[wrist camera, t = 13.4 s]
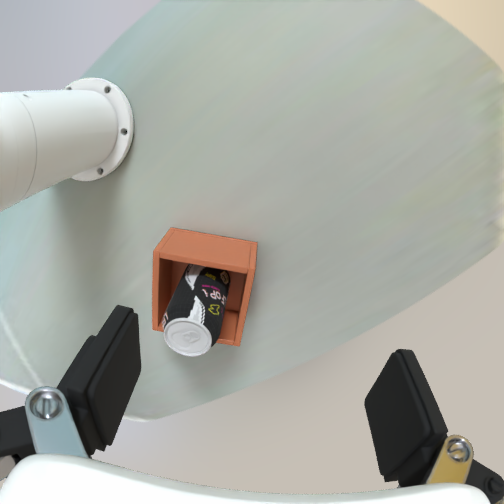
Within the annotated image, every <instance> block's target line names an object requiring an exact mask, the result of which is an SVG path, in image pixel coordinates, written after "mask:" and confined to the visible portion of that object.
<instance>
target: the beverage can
mask: <svg viewBox="0 0 504 504" xmlns="http://www.w3.org/2000/svg"><path fill="white" fill-rule="evenodd" d="M230 281H231V279H230V274H229V272H228V270H223V269H217V268H212V267H206V266H201V265H195V264H190V263H189V264H188V266H187V267H186V269H185V271H184V273H183V275H182V277H181V279H180V281H179V283H178V286H177V288H176V290H175V292H174V294H173V296H172V298H171V301H170V303H169V305H168V307H167V309H166V311H165V314H164V316H163V320H162V327H163V331H164V339H165V341H166V343H167V345H168V346H169V347H170V348H171V349H172V350H173V351H175V352H177V353H179V354H181V355H184V356H189V357H195V356H200V355H203V354H205V353H206V352H207V351H208V350H209V349H210V347H212V346H213V345H214V344H215V343H216V342H217V340H218V339H219V336H220V332H221V327H222V322H223V317H224V312H225V307H226V303H227V298H228V293H229V288H230Z"/></svg>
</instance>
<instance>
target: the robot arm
mask: <svg viewBox="0 0 504 504" xmlns="http://www.w3.org/2000/svg"><path fill="white" fill-rule="evenodd" d="M110 88H111V91H109V90H110ZM126 129H127V132H128V133H126ZM133 131H134V119H133V114H132V109H131V106H130V104H129V101H128V99H127V98H126V96H125V94H124V93H123V92H122V91H121V90H120V89H119V88H118V87H117V86H116V85H115V84H113V83H111V82H110V81H107V80H104V79H101V78H83V79H79V80H76V81H74V82H72V83H71V84H69V85H68V86H66V87H65V88H64V89H62V90H39V91H19V92H5V93H0V212H2V211H3V210H5V209H7V208H9V207H11V206H13V205H15V204H17V203H19V202H21V201H22V200H24V199H26V198H28V197H30V196H32V195H34V194H36V193H38V192H40V191H42V190H44V189H46V188H49V187H51V186H53V185H55V184H57V183H59V182H61V181H64V180H66V179H68V178H72V179H74V180H78V181H93V180H97V179H100V178H102V177H104V176H106V175H108V174H109V173H111V172H112V171H114V170H115V169H116V168H117V167H118V166H119V165H120V164H121V162H122V161H123V160H124V158H125V156H126V154H127V153H128V151H129V148H130V145H131V142H132V138H133ZM102 168H103V170H102ZM140 372H141V357H140V343H139V324H138V314H136V313H134V310H133V309H132V308H129V307H124V306H120V305H117V306H116V307H115V309H114V310H113V312H112V313H111V315H110V316H109V318H108V319H107V321H106V322H105V324H104V325H103V327H102V328H101V330H100V331H99V333H98V335H97V336H93V335H91V336H89V338H88V339H87V340H86V342H85V343H84V345H83V346H82V348H81V349H80V351H79V353H78V354H77V356H76V357H75V359H74V360H73V362H72V364H71V365H70V367H69V368H68V370H67V372H66V373H65V375H64V377H63V378H62V380H61V381H60V383H59V385H58V386H57V388H54V387H49V386H45V387H39V388H36V389H34V390H33V391H32V392H30V394H29V395H28V396H27V398H26V401H25V406H22V407H18V408H15V409H11V410H7V411H3V412H0V481H1V480H3V479H4V478H6V480H5V482H4V484H3V486H2V487H1V489H0V504H504V480H503V479H502V477H501V476H499V475H498V474H497V473H495V472H493V471H492V470H490V469H488V468H487V467H485V466H484V465H482V464H480V463H479V462H477V461H475V460H474V459H473V455H474V451H473V447H472V445H471V443H470V442H469V441H468V440H467V439H466V438H464V437H463V436H460V435H451V436H449V437H448V436H447V434H446V433H447V432H448V429H447V427H446V424H445V422H444V419H443V417H442V414H441V412H440V410H439V407H438V405H437V402H436V400H435V398H434V396H433V393H432V391H431V389H430V386H429V384H428V382H427V380H426V378H425V375H424V373H423V371H422V369H421V367H420V365H419V363H418V361H417V359H416V356H415V354H414V352H413V351H412V350H406V349H398V350H396V352H394V353H392V354H391V356H390V357H389V359H388V361H387V363H386V365H385V367H384V368H383V370H382V372H381V373H380V375H379V377H378V378H377V380H376V382H375V383H374V385H373V387H372V388H371V390H370V391H369V393H368V395H367V397H366V398H365V409H366V413H367V417H368V421H369V426H370V430H371V434H372V438H373V443H374V447H375V451H376V456H377V461H378V466H379V470H380V473H381V475H383V476H384V480H385V482H390V481H397V480H398V482H399V486H398V487H397V488H396V489H388V490H379V491H370V492H358V493H341V494H279V493H261V492H250V491H240V490H231V489H223V488H216V487H210V486H203V485H197V484H192V483H186V482H181V481H177V480H172V479H167V478H162V477H158V476H154V475H150V474H145V473H142V472H138V471H134V470H130V469H127V468H123V467H120V466H116V465H112V464H109V463H105V462H101V461H97V460H94V459H92V457H91V455H93V454H94V452H95V450H96V449H98V450H101V451H105V448H106V445H109V446H110V445H112V443H113V440H114V438H115V435H116V433H117V430H118V427H119V425H120V422H121V420H122V417H123V415H124V412H125V409H126V407H127V404H128V402H129V399H130V397H131V395H132V392H133V390H134V387H135V385H136V382H137V380H138V377H139V375H140Z"/></svg>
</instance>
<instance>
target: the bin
mask: <svg viewBox="0 0 504 504" xmlns="http://www.w3.org/2000/svg"><path fill="white" fill-rule="evenodd" d="M256 255H257V242H251V241H246V240H240V239H234V238H229V237H223V236H217V235H212V234H206V233H200V232H194V231H189V230H183V229H177V228H170V229H169V231H168V232H167V233H166V235H165V236H164V237H163V239H162V240H161V241H160V243H159V244H158V245H157V247H156V248H155V249H154V251H153V282H152V329H153V330H156V331H161V332H164V331H163V327H162V320H163V316H164V314H165V311H166V309H167V307H168V305H169V303H170V301H171V298H172V296H173V294H174V292H175V290H176V288H177V286H178V283H179V281H180V279H181V277H182V275H183V273H184V271H185V269H186V267H187V266H188V264H189V263H190V264H195V265H201V266H206V267H212V268H217V269H223V270H228V272H229V274H230V279H231V281H230V288H229V293H228V298H227V303H226V307H225V312H224V317H223V322H222V327H221V332H220V336H219V339H218V340H217V342H216V343H221V344H227V345H234V346H240V342H241V337H242V333H243V328H244V323H245V318H246V313H247V308H248V303H249V298H250V294H251V289H252V284H253V279H254V274H255V268H256Z"/></svg>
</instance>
